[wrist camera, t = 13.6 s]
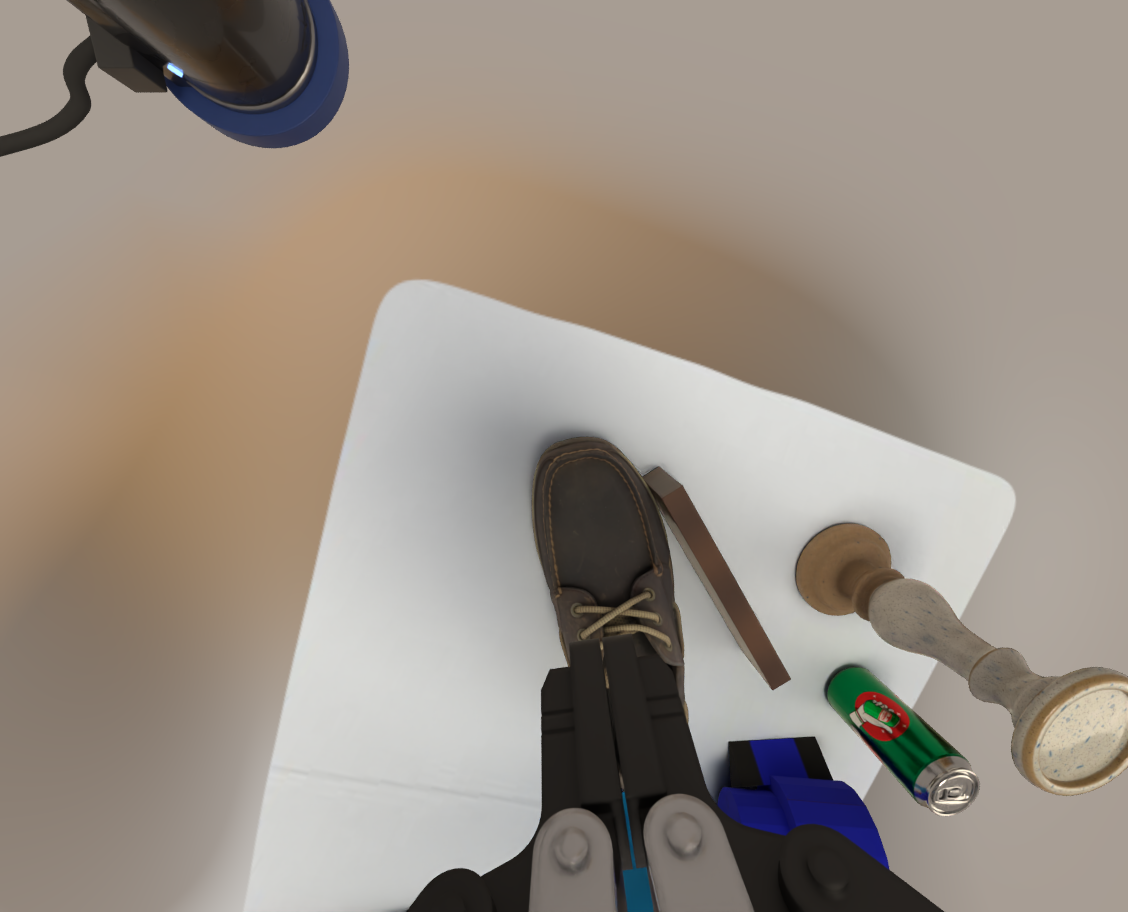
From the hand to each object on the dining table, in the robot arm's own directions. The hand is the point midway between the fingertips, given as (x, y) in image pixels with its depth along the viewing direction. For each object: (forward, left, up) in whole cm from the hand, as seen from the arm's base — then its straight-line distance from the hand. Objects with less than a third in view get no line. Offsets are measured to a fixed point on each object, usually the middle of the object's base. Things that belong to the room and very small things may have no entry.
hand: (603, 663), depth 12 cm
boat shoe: (+6, -14, -29) cm, 33 cm away
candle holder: (+27, -15, -29) cm, 42 cm away
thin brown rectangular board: (+14, -13, -28) cm, 34 cm away
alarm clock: (+20, -39, -29) cm, 52 cm away
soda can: (+29, -28, -29) cm, 49 cm away
